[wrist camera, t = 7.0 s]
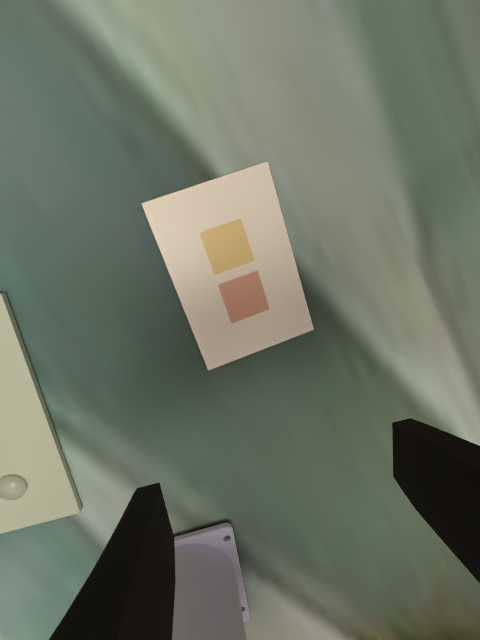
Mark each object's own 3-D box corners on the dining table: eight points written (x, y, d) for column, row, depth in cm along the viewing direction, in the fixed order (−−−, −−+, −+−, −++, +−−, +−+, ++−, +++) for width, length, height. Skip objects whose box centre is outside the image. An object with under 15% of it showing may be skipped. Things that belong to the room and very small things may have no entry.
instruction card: (312, 328, 20) (314, 330, 19) (207, 369, 19) (208, 371, 19) (266, 162, 17) (267, 160, 17) (141, 203, 16) (141, 203, 16)
